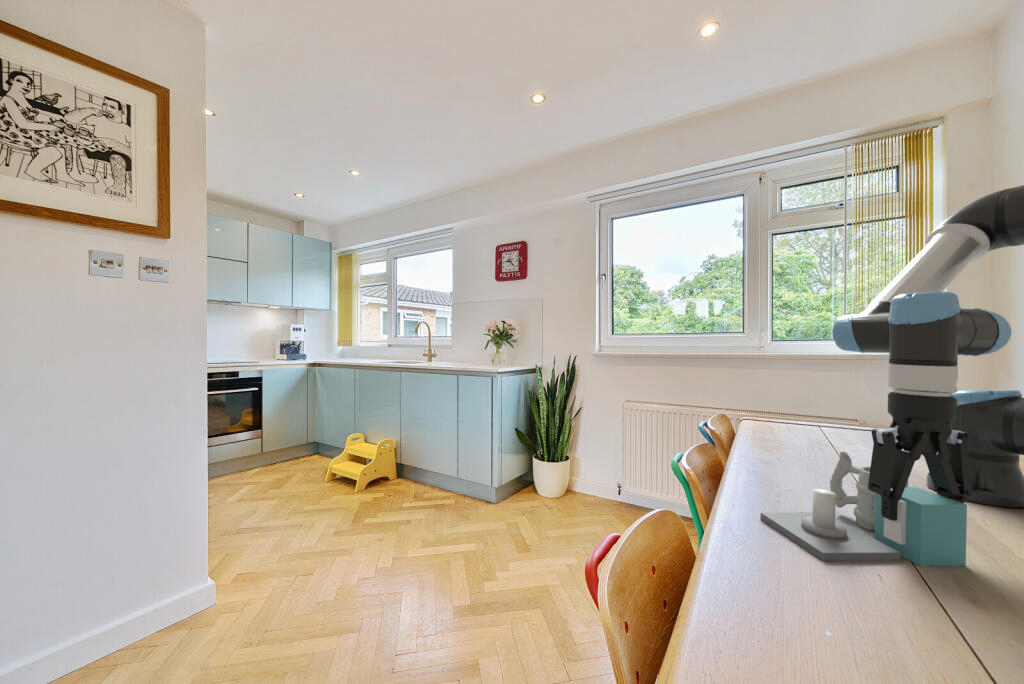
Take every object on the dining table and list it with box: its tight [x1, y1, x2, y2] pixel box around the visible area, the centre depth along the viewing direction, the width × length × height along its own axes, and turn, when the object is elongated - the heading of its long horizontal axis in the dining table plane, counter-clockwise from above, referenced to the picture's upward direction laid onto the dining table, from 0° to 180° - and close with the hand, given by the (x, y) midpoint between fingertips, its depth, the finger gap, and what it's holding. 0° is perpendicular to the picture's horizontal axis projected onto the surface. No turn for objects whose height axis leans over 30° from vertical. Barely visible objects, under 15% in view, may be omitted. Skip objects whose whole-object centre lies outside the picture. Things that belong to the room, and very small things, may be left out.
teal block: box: [874, 486, 968, 567], centre depth 62 cm, size 7×7×9 cm
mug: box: [829, 450, 909, 532], centre depth 73 cm, size 8×12×12 cm, turn 28°
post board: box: [760, 488, 901, 562], centre depth 67 cm, size 12×14×8 cm
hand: (918, 539), depth 62 cm, fingers closed on teal block, 7 cm apart
